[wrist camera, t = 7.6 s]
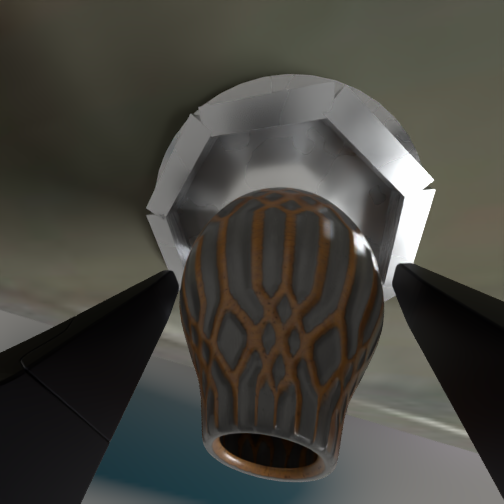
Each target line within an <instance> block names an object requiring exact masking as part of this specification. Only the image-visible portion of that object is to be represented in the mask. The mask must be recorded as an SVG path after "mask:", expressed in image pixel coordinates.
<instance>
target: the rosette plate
mask: <svg viewBox="0 0 504 504" xmlns="http://www.w3.org/2000/svg"><path fill="white" fill-rule="evenodd" d="M198 108H199V109H198V110H197V111H196V112H195V113H194V114H191V113H190V116H189V118H188V120H187V121H186V122H185V123H184V125H183V126H182V127H181V129H180V130H179V131H178V133H177V134H176V135H175V137H174V138H173V140H172V142H171V144H170V146H169V147H168V149H167V151H166V153H165V155H164V158H163V161H162V164H161V166H160V169H159V173H158V177H157V182H156V187H155V190H154V192H153V194H152V196H151V199H150V201H149V203H148V205H147V207H146V208H147V209H148V210H150V211H151V213H149V214H147V215H146V216H147V219H148V221H149V223H150V226H151V228H152V231H153V233H154V236H155V238H156V241H157V243H158V246H159V248H160V251H161V253H162V255H163V258H164V260H165V263H166V265H167V268H168V270H172V271H173V272H174V273H175V276H176V278H177V281H178V284H179V289H180V288H181V281H182V276H183V271H184V267H185V264H186V261H187V258H188V255H189V252H190V250H191V248H192V246H193V244H194V242H195V240H196V238H197V236H198V235H199V233H200V232H201V231H202V229H203V228H204V227H205V225H206V224H207V223H208V222H209V221H210V220H211V218H212V217H213V216H214V215H215V214H217V213H218V212H219V211H220V210H221V209H222V208H224V207H225V206H226V205H227V204H229V203H230V202H232V201H233V200H235V199H237V198H238V197H240V196H242V195H245V194H247V193H250V192H253V191H256V190H260V189H266V188H275V187H287V188H295V189H301V190H305V191H308V192H311V193H314V194H317V195H319V196H321V197H323V198H325V199H327V200H328V201H330V202H331V203H333V204H334V205H336V206H337V207H338V208H339V209H341V210H342V211H343V212H344V213H345V214H346V215H347V216H348V217H349V218H350V219H351V220H352V221H353V222H354V223H355V224H356V226H357V227H358V228H359V229H360V231H361V232H362V234H363V235H364V237H365V238H366V240H367V241H368V243H369V245H370V247H371V249H372V251H373V253H374V256H375V258H376V261H377V264H378V267H379V271H380V275H381V280H382V286H383V294H384V302H385V301H387V300H388V299H390V298H392V297H393V296H395V295H396V294H395V292H394V289H393V287H392V280H393V276H394V272H395V268H396V266H397V264H399V263H413V262H414V258H415V255H416V252H417V249H418V245H419V242H420V239H421V235H422V232H423V229H424V225H425V222H426V219H427V216H428V212H429V209H430V206H431V202H432V199H433V196H434V193H435V189H433V188H431V187H428V186H427V185H428V184H430V183H431V182H432V181H433V179H432V177H431V176H430V175H429V174H428V173H427V172H426V171H425V170H424V169H423V168H422V166H421V163H420V159H419V156H418V154H417V152H416V149H415V147H414V145H413V143H412V141H411V139H410V137H409V136H408V134H407V133H406V132H405V130H404V129H403V127H402V126H401V125H400V123H399V122H398V121H397V119H396V118H395V117H394V116H393V115H392V114H391V113H389V112H388V111H387V110H386V109H385V108H384V107H383V106H382V105H381V104H380V103H379V102H377V101H376V100H374V99H372V98H371V97H369V96H368V95H366V94H365V93H363V92H362V91H360V90H358V89H356V88H353V87H351V86H349V85H347V84H344V83H341V82H339V81H337V80H332V79H328V78H323V77H318V76H314V75H298V74H284V75H275V76H267V77H262V78H258V79H255V80H251V81H248V82H245V83H241V84H239V85H237V86H235V87H233V88H231V89H229V90H226V91H224V92H222V93H220V94H219V95H217V96H216V97H214V98H213V99H211V100H210V101H209V102H207V103H206V104H204V105H203V106H201V107H198Z"/></svg>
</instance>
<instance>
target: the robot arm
mask: <svg viewBox="0 0 504 504" xmlns="http://www.w3.org/2000/svg"><path fill="white" fill-rule="evenodd" d="M392 287H393V289H394V292H395V294H396V297H397V299H398V302H399V304H400V307H401V309H402V312H403V314H404V317H405V319H406V321H407V324H408V326H409V328H410V329H411V331H412V333H413V335H414V337H415V339H416V340H417V342H418V344H419V346H420V348H421V350H422V351H423V353H424V355H425V357H426V359H427V361H428V362H429V364H430V366H431V368H432V370H433V371H434V373H435V375H436V377H437V379H438V381H439V382H440V384H441V386H442V388H443V390H444V392H445V393H446V395H447V397H448V399H449V401H450V402H451V404H452V406H453V408H454V410H455V412H456V413H457V415H458V417H459V419H460V421H461V423H462V424H463V426H464V428H465V430H466V432H467V433H468V435H469V437H470V439H471V441H472V443H473V444H474V446H475V448H476V450H477V452H478V454H479V455H480V457H481V459H482V461H483V463H484V464H485V466H486V468H487V470H488V472H489V473H490V475H491V477H492V479H493V481H494V482H495V484H496V486H497V488H498V490H499V492H500V494H501V495H502V497H503V499H504V302H503V301H501V300H499V299H496V298H494V297H492V296H489V295H487V294H484V293H482V292H480V291H477V290H475V289H472V288H470V287H468V286H465V285H463V284H461V283H458V282H456V281H453V280H451V279H449V278H446V277H444V276H441V275H439V274H437V273H434V272H432V271H430V270H427V269H425V268H422V267H420V266H418V265H415V264H413V263H399V264H397V266H396V268H395V272H394V276H393V280H392ZM178 291H179V284H178V281H177V278H176V276H175V273H174V272H173V271H172V270H164V271H161V272H159V273H157V274H156V275H154V276H152V277H150V278H148V279H146V280H144V281H142V282H140V283H138V284H136V285H134V286H132V287H130V288H128V289H127V290H125V291H123V292H121V293H119V294H117V295H115V296H113V297H111V298H109V299H107V300H105V301H103V302H101V303H99V304H98V305H96V306H94V307H92V308H90V309H88V310H86V311H84V312H82V313H80V314H78V315H77V316H74V317H72V318H70V319H68V320H67V321H65V322H63V323H61V324H59V325H57V326H55V327H53V328H51V329H49V330H47V331H45V332H43V333H41V334H39V335H36V336H35V337H32V338H30V339H28V340H26V341H24V342H22V343H20V344H18V345H16V346H13V347H11V348H9V349H7V350H6V351H3V352H1V353H0V504H81V502H82V500H83V498H84V495H85V494H86V491H87V489H88V487H89V485H90V483H91V481H92V479H93V477H94V475H95V473H96V470H97V468H98V466H99V464H100V462H101V460H102V458H103V455H104V453H105V451H106V449H107V447H108V445H109V441H110V440H111V439H112V436H113V434H114V432H115V430H116V428H117V426H118V424H119V422H120V420H121V418H122V415H123V413H124V411H125V409H126V407H127V405H128V403H129V401H130V399H131V396H132V395H133V393H134V390H135V388H136V386H137V384H138V382H139V380H140V378H141V376H142V373H143V372H144V369H145V367H146V365H147V363H148V361H149V359H150V357H151V355H152V353H153V351H154V348H155V346H156V344H157V342H158V340H159V338H160V336H161V334H162V332H163V330H164V328H165V325H166V323H167V321H168V319H169V316H170V313H171V311H172V308H173V305H174V302H175V299H176V297H177V294H178Z"/></svg>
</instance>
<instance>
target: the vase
mask: <svg viewBox="0 0 504 504" xmlns="http://www.w3.org/2000/svg"><path fill="white" fill-rule="evenodd" d="M180 315H181V323H182V327H183V331H184V335H185V338H186V342H187V345H188V349H189V352H190V355H191V359H192V362H193V365H194V368H195V371H196V374H197V377H198V381H199V388H200V396H201V414H202V438H203V443H204V446H205V448H206V449H207V451H208V452H209V453H210V454H211V455H212V456H213V457H214V458H215V459H216V460H218V461H220V462H221V463H223V464H224V465H226V466H228V467H230V468H233V469H235V470H237V471H240V472H243V473H246V474H249V475H252V476H256V477H260V478H265V479H270V480H277V481H286V482H305V481H313V480H318V479H321V478H323V477H326V476H327V475H329V474H330V473H331V472H332V471H333V470H334V469H335V467H336V464H337V460H338V455H339V449H340V442H341V435H342V430H343V424H344V419H345V415H346V412H347V408H348V405H349V402H350V400H351V398H352V396H353V394H354V392H355V390H356V388H357V386H358V385H359V383H360V381H361V379H362V377H363V375H364V373H365V371H366V369H367V367H368V365H369V363H370V361H371V359H372V356H373V354H374V352H375V349H376V347H377V345H378V342H379V338H380V335H381V331H382V326H383V318H384V294H383V286H382V280H381V275H380V271H379V267H378V264H377V261H376V258H375V256H374V253H373V251H372V249H371V247H370V245H369V243H368V241H367V240H366V238H365V237H364V235H363V234H362V232H361V231H360V229H359V228H358V227H357V226H356V224H355V223H354V222H353V221H352V220H351V219H350V218H349V217H348V216H347V215H346V214H345V213H344V212H343V211H342V210H341V209H339V208H338V207H337V206H336V205H334V204H333V203H331V202H330V201H328V200H327V199H325V198H323V197H321V196H319V195H317V194H314V193H311V192H308V191H305V190H301V189H295V188H287V187H275V188H266V189H260V190H256V191H253V192H250V193H247V194H245V195H242V196H240V197H238V198H237V199H235V200H233V201H232V202H230V203H229V204H227V205H226V206H225V207H224V208H222V209H221V210H220V211H219V212H218V213H217V214H215V215H214V216H213V217H212V218H211V220H210V221H209V222H208V223H207V224H206V225H205V227H204V228H203V229H202V231H201V232H200V233H199V235H198V236H197V238H196V240H195V242H194V244H193V246H192V248H191V250H190V252H189V255H188V258H187V261H186V264H185V267H184V271H183V276H182V281H181V288H180Z"/></svg>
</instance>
